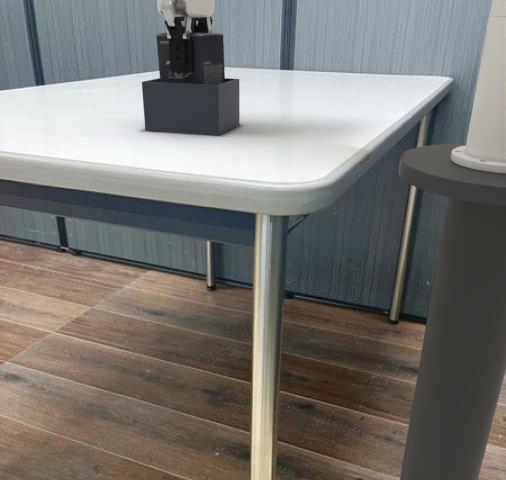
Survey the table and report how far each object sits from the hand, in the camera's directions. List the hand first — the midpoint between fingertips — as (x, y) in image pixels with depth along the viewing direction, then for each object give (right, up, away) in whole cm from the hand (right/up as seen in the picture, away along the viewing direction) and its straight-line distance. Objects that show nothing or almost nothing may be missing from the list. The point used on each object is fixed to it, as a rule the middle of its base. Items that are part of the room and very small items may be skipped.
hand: (192, 69), depth 83 cm
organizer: (0, -7, +4) cm, 8 cm away
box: (0, -5, +3) cm, 6 cm away
